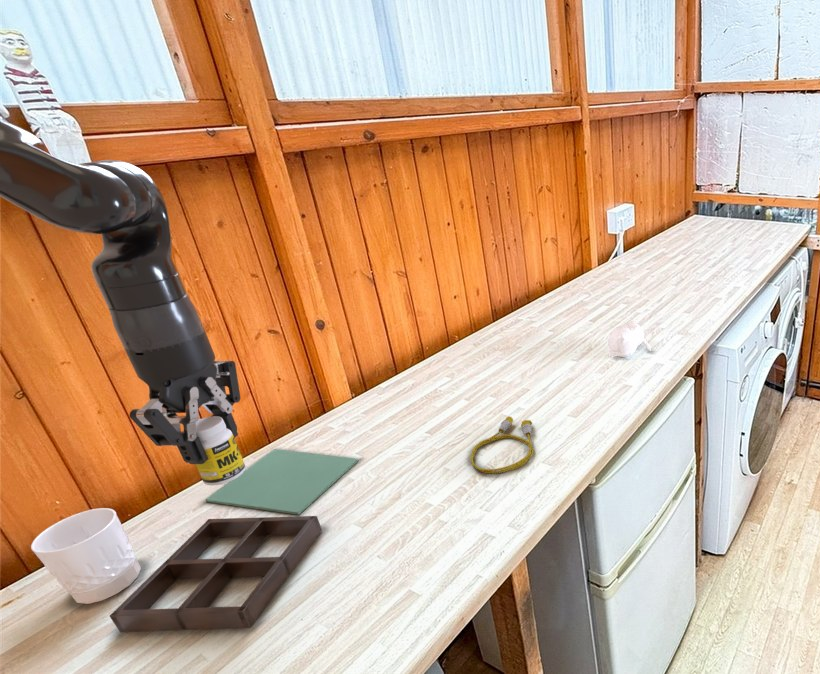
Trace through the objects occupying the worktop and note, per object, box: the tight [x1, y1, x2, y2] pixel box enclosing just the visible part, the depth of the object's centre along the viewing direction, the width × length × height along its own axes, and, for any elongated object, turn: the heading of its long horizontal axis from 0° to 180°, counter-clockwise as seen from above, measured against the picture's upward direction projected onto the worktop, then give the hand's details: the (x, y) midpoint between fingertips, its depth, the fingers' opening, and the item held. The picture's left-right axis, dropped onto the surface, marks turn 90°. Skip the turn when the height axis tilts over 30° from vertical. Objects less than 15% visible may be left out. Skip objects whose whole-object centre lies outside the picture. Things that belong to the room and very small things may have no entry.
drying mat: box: [205, 448, 359, 516], centre depth 91 cm, size 18×14×1 cm
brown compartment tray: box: [109, 515, 323, 633], centre depth 72 cm, size 16×16×3 cm
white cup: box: [30, 507, 142, 605], centre depth 70 cm, size 8×8×10 cm
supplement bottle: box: [194, 415, 246, 487], centre depth 70 cm, size 5×5×8 cm
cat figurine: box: [607, 320, 652, 358], centre depth 134 cm, size 9×11×12 cm
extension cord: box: [470, 415, 534, 474], centre depth 98 cm, size 12×16×2 cm
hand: (214, 449), depth 70 cm, fingers closed on supplement bottle, 4 cm apart
